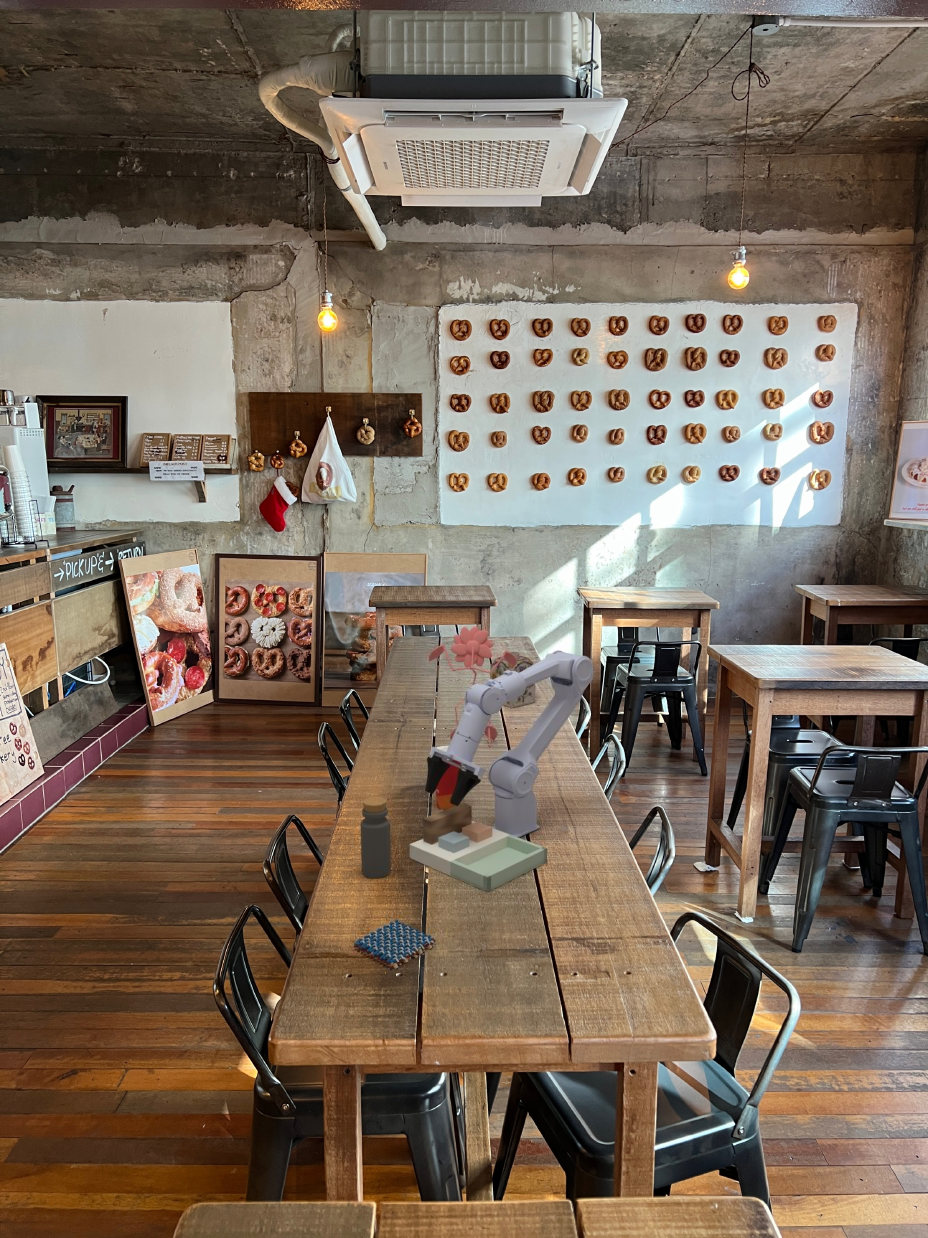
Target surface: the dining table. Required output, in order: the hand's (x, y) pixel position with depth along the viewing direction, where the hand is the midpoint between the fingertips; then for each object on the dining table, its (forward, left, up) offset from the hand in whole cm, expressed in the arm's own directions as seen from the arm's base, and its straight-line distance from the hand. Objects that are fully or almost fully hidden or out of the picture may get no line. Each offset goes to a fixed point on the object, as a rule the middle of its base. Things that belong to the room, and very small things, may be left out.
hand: (441, 798), depth 181 cm
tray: (-3, +14, -12) cm, 19 cm away
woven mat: (+31, +21, -13) cm, 40 cm away
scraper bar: (-3, -1, -9) cm, 9 cm away
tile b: (+1, +4, -9) cm, 10 cm away
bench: (-3, +3, -12) cm, 13 cm away
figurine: (-62, -50, -12) cm, 80 cm away
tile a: (-6, +4, -9) cm, 12 cm away
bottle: (+15, -3, -12) cm, 20 cm away
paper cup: (-20, -18, -12) cm, 29 cm away
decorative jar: (-104, -71, -12) cm, 126 cm away
